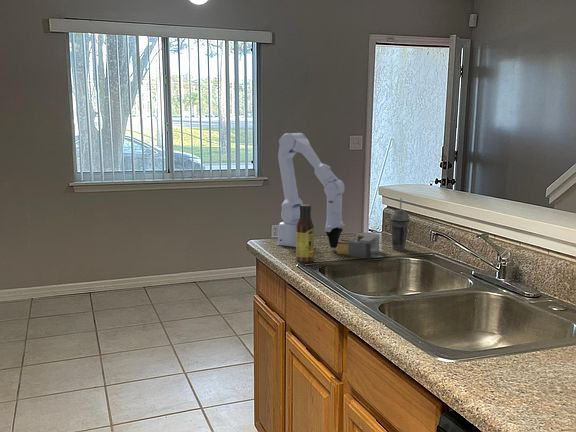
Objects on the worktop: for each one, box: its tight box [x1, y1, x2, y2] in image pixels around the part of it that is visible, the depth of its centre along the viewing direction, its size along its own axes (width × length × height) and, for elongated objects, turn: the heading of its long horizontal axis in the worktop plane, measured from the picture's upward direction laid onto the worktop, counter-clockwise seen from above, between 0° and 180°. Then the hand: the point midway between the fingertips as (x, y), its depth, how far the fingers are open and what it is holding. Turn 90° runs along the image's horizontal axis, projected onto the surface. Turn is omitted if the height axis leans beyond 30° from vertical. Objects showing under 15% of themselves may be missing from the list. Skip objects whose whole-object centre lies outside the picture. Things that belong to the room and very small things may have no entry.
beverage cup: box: [389, 198, 410, 252], centre depth 214 cm, size 7×7×20 cm
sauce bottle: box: [295, 204, 315, 263], centre depth 195 cm, size 7×6×20 cm
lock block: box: [336, 239, 354, 256], centre depth 210 cm, size 5×8×4 cm, turn 160°
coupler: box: [347, 233, 381, 260], centre depth 207 cm, size 8×13×6 cm, turn 156°
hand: (333, 247), depth 212 cm, fingers closed
